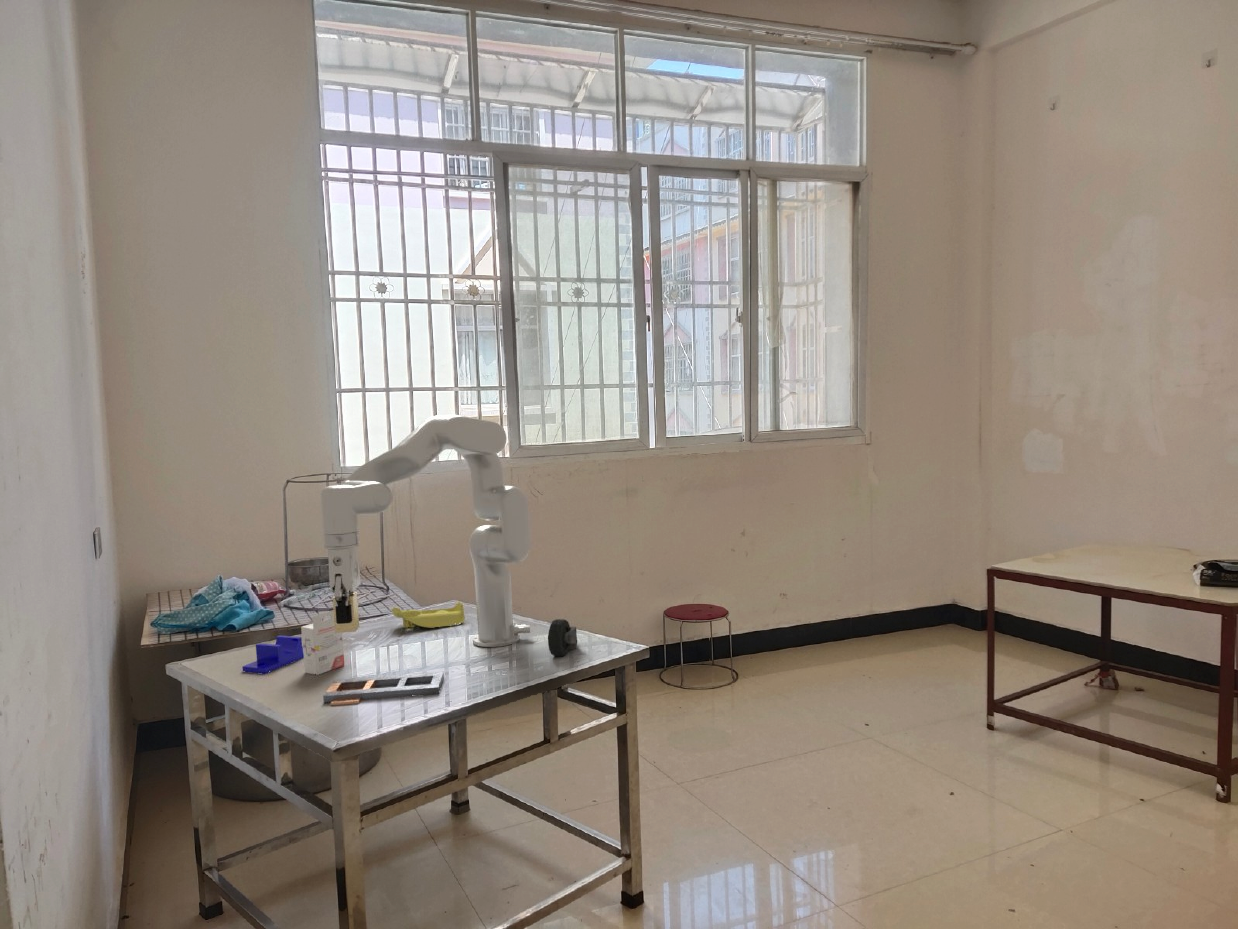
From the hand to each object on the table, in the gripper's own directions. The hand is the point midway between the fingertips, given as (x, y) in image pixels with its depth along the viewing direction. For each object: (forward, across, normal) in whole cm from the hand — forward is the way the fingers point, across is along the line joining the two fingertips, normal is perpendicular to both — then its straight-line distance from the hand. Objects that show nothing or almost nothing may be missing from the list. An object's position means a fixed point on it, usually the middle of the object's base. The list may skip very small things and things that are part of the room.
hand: (346, 619), depth 189 cm
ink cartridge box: (+17, +20, +11) cm, 29 cm away
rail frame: (+17, 0, -8) cm, 19 cm away
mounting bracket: (+18, +29, +24) cm, 42 cm away
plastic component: (+17, +57, -10) cm, 60 cm away
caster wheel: (+17, +20, -49) cm, 56 cm away
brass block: (+2, 0, 0) cm, 2 cm away
